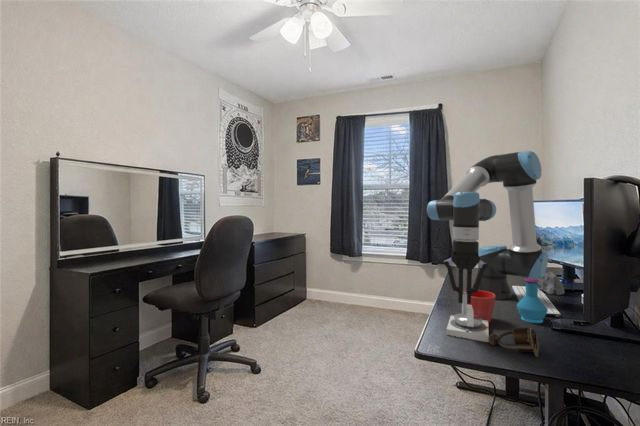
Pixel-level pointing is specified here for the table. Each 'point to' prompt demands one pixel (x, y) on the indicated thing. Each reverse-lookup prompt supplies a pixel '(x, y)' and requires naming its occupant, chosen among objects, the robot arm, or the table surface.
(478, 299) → the flower pot
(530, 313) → the perfume bottle
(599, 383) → the table surface
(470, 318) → the dial
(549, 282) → the mineral rock
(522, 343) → the brown piece
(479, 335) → the dial housing
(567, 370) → the table surface
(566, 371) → the table surface
